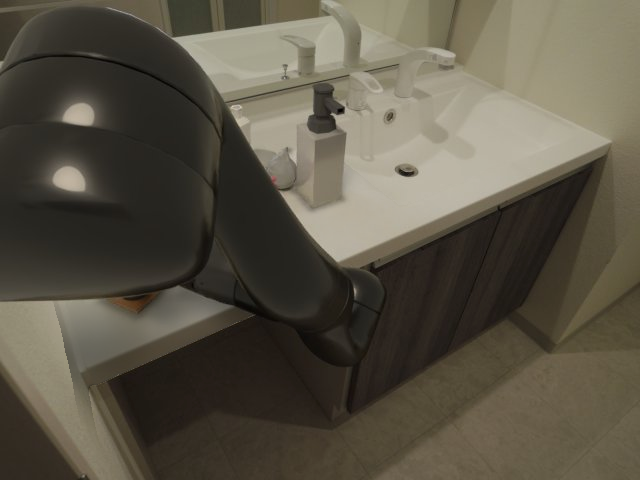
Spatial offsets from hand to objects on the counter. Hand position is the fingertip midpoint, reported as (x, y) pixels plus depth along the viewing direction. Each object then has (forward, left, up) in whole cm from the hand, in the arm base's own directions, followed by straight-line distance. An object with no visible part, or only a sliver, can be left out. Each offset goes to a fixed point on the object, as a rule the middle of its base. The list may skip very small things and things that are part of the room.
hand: (112, 227), depth 54 cm
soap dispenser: (+35, -15, -13) cm, 40 cm away
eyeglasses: (+43, +5, -13) cm, 45 cm away
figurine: (+35, -6, -13) cm, 38 cm away
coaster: (0, 0, -13) cm, 13 cm away
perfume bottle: (+35, +3, -13) cm, 38 cm away
